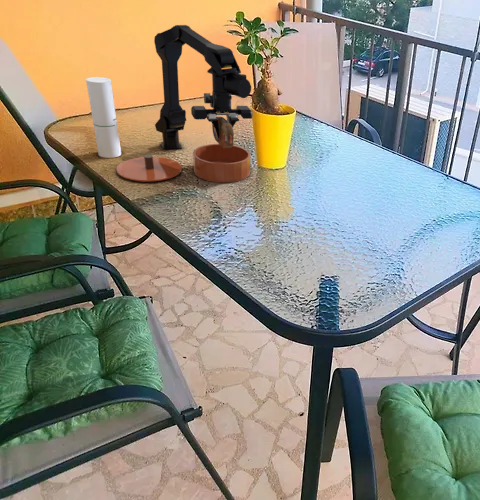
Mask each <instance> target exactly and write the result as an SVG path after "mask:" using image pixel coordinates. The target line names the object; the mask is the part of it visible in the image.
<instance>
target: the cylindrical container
mask: <svg viewBox="0 0 480 500" xmlns="http://www.w3.org/2000/svg"><path fill="white" fill-rule="evenodd" d="M85 82H86V88H87V93H88V94H87V95H88V100H89V105H90V112H91V118H92V123H93V129H94V136H95V142H96V147H97V152H98V153H97V154H98V156H99V157H101V158H106V159H108V158H109V159H113V158H117V157H120V156H121V155H122V148H121V142H120V134H119V128H118V127H119V126H118V120H117V113H116V105H115V99H114V92H113V85H112V79H111V78H109V77H103V76H92V77H90V76H89V77H86V78H85Z"/></svg>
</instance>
